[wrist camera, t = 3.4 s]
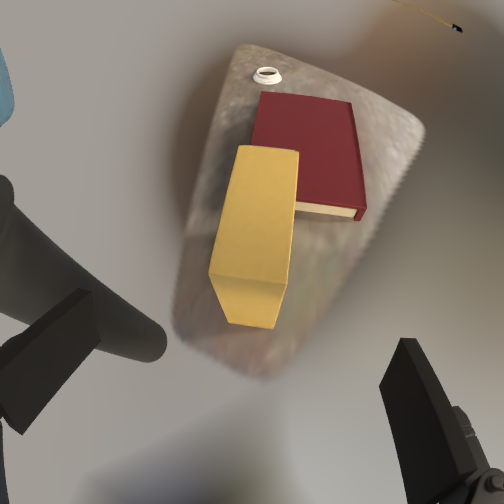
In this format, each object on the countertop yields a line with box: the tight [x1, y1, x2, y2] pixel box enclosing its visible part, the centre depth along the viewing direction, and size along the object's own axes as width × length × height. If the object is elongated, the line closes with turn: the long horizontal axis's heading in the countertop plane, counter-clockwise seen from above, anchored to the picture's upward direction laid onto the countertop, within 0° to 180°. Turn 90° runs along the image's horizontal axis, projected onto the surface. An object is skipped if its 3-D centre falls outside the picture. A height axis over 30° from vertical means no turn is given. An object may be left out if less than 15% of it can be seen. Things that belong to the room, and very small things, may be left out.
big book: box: [250, 91, 367, 221], centre depth 29 cm, size 16×11×4 cm
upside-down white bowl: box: [253, 67, 282, 85], centre depth 37 cm, size 5×3×5 cm
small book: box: [208, 145, 299, 329], centre depth 20 cm, size 4×8×12 cm, turn 172°
